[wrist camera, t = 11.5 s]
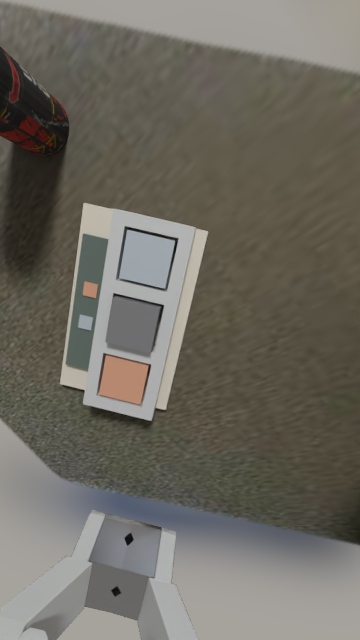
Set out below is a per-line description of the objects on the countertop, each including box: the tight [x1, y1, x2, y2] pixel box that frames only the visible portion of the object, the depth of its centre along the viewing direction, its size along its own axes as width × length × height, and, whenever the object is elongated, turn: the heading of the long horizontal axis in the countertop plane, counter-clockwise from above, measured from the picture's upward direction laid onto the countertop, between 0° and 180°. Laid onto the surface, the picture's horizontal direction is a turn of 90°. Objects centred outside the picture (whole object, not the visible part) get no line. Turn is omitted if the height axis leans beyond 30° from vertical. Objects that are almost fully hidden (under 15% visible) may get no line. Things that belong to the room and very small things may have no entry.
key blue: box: [119, 230, 177, 289], centre depth 32 cm, size 5×5×2 cm
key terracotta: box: [99, 354, 151, 405], centre depth 36 cm, size 5×5×2 cm
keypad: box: [60, 203, 208, 421], centre depth 35 cm, size 14×22×4 cm, turn 167°
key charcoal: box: [106, 294, 163, 353], centre depth 33 cm, size 5×5×2 cm
